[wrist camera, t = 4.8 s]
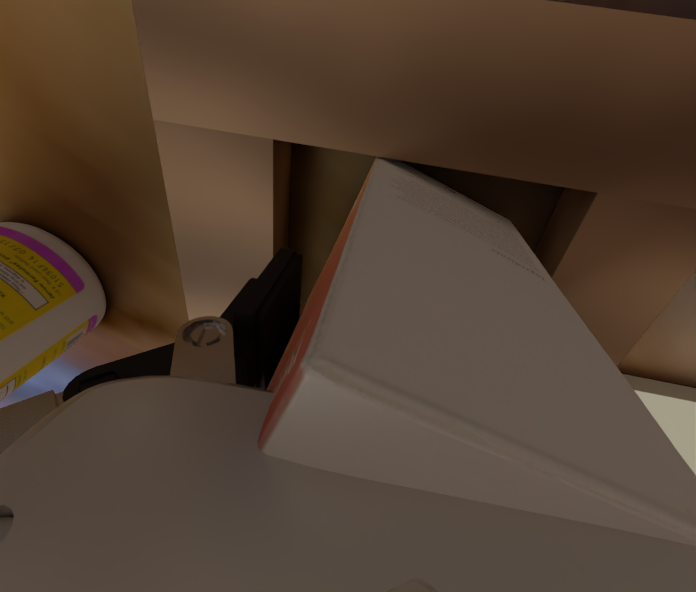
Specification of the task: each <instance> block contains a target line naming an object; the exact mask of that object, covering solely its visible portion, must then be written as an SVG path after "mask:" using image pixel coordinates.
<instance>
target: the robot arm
mask: <svg viewBox="0 0 696 592" xmlns="http://www.w3.org/2000/svg"><path fill="white" fill-rule="evenodd" d="M301 273H302V255H299V254H298V253H297V250H294V249H288V248H282V247H281V248H280V249H279V250H278V252H277V253H276V254H275V256H274V257H273V258H272V260H271V261H270V262H269V264H268V265H267V266H266V268H265V269H264V270H263V272H262V273H261V274H260V276H259V277H258V278H251V279H249V280H248V282H247V283H246V284H245V285H244V287H243V288H242V289H241V291H240V292H239V293H238V294H237V296H236V297H235V298H234V299H233V301H232V302H231V303H230V304H229V306H228V307H227V308H226V310H225V311H224V312H223V313H222V315H221V316H220V317H215V316H204V317H198V318H195V319H192V320H190V321H188V322H186V323H185V324H183V325H182V326H181V327H180V328H179V329H178V331H177V334H176V338H175V343H172V344H169V345H166V346H162V347H159V348H156V349H152V350H149V351H146V352H143V353H139V354H136V355H133V356H130V357H126V358H123V359H120V360H116V361H113V362H110V363H107V364H103V365H100V366H97V367H94V368H92V369H89V370H87V371H85V372H83V373H81V374H80V375H78V376H76V377H75V378H74V379H73V380H72V381H71V382H70V383H69V384H68V385H67V387H66V388H65V390H64V391H63V392H60V393H58V394H55V393H54V391H53V390H51V391H48V392H45V393H42V394H40V395H37V396H34V397H31V398H28V399H26V400H23V401H20V402H17V403H14V404H11V405H9V406H6V407H3V408H0V592H696V546H691V545H687V544H683V543H678V542H674V541H669V540H665V539H660V538H656V537H651V536H647V535H642V534H638V533H633V532H628V531H623V530H619V529H614V528H609V527H604V526H599V525H594V524H589V523H584V522H579V521H575V520H570V519H565V518H560V517H555V516H550V515H545V514H539V513H534V512H529V511H524V510H519V509H514V508H509V507H504V506H499V505H494V504H489V503H484V502H479V501H474V500H469V499H464V498H459V497H454V496H449V495H444V494H439V493H434V492H429V491H424V490H419V489H414V488H409V487H404V486H399V485H393V484H388V483H383V482H378V481H373V480H368V479H363V478H358V477H354V476H349V475H345V474H340V473H336V472H331V471H326V470H322V469H318V468H314V467H310V466H306V465H302V464H298V463H295V462H291V461H288V460H284V459H280V458H277V457H273V456H269V455H266V454H265V453H263V452H261V451H260V450H259V448H258V438H259V435H260V431H261V428H262V425H263V422H264V420H265V417H266V414H267V411H268V409H269V406H270V403H271V400H272V397H273V395H274V392H273V391H271V390H267V388H268V386H269V383H270V381H271V379H272V377H273V375H274V373H275V370H276V368H277V366H278V364H279V362H280V360H281V358H282V355H283V353H284V351H285V349H286V347H287V345H288V342H289V340H290V338H291V336H292V334H293V331H294V329H295V327H296V325H297V323H298V320H299V311H300V292H301Z"/></svg>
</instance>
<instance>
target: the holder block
mask: <svg viewBox="0 0 696 592" xmlns="http://www.w3.org/2000/svg"><path fill="white" fill-rule="evenodd" d="M132 5H133V11H134V16H135V22H136V28H137V33H138V39H139V44H140V50H141V55H142V61H143V67H144V72H145V78H146V83H147V89H148V95H149V100H150V106H151V111H152V117H153V122H154V128H155V134H156V139H157V145H158V150H159V156H160V161H161V167H162V173H163V178H164V184H165V189H166V195H167V201H168V206H169V212H170V217H171V223H172V228H173V234H174V240H175V245H176V251H177V256H178V262H179V267H180V273H181V279H182V284H183V290H184V295H185V301H186V307H187V312H188V318H189V321H190V320H192V319H195V318H198V317H204V316H215V317H220V316H221V315H222V313H223V312H224V311H225V310H226V308H227V307H228V306H229V304H230V303H231V302H232V301H233V299H234V298H235V297H236V296H237V294H238V293H239V292H240V291H241V289H242V288H243V287H244V285H245V284H246V283H247V282H248V280H249V279H251V278H258V277H259V276H260V274H261V273H262V272H263V270H264V269H265V268H266V266H267V265H268V264H269V262H270V261H271V260H272V258H273V257H274V256H275V254H276V253H277V252H278V250H279V249H280V248H281V247H282V248H288V244H289V208H290V173H291V142H292V143H298V144H304V145H310V146H317V147H323V148H329V149H335V150H341V151H347V152H353V153H359V154H365V155H371V156H377V157H383V158H389V159H395V160H402V161H408V162H414V163H420V164H426V165H432V166H438V167H444V168H450V169H456V170H462V171H468V172H474V173H480V174H487V175H493V176H499V177H505V178H511V179H517V180H523V181H529V182H535V183H541V184H547V185H553V186H559V187H565V189H564V191H563V193H562V195H561V197H560V199H559V201H558V203H557V205H556V208H555V210H554V212H553V214H552V216H551V218H550V220H549V222H548V224H547V226H546V228H545V230H544V232H543V234H542V236H541V238H540V241H539V243H538V245H537V247H536V249H535V251H534V254H535V255H536V257H537V258H538V260H539V261H540V263H541V264H542V266H543V267H544V268H545V269H546V271H547V273H548V274H549V276H550V277H551V278H552V280H553V281H554V283H555V284H556V285H557V287H558V288H559V289H560V291H561V292H562V293H563V295H564V296H565V297H566V299H567V300H568V302H569V303H570V304H571V306H572V307H573V308H574V310H575V311H576V312H577V314H578V315H579V316H580V318H581V319H582V320H583V322H584V323H585V325H586V326H587V328H588V329H589V330H590V332H591V333H592V334H593V335H594V337H595V338H596V340H597V341H598V342H599V344H600V345H601V347H602V348H603V349H604V351H605V352H606V353H607V354H608V356H609V357H610V358H611V360H612V361H613V362H614V364H615V365H616V366H618V365H619V363H620V362H621V361H622V360H623V358H624V357H625V356H626V355H627V354H628V352H629V351H630V350H631V349H632V347H633V346H634V345H635V344H636V342H637V341H638V340H639V339H640V338H641V336H642V335H643V334H644V333H645V331H646V330H647V329H648V328H649V326H650V325H651V324H652V323H653V322H654V320H655V319H656V318H657V317H658V315H659V314H660V313H661V312H662V310H663V309H664V308H665V307H666V305H667V304H668V303H669V302H670V301H671V299H672V298H673V297H674V296H675V294H676V293H677V292H678V291H679V289H680V288H681V287H682V286H683V285H684V283H685V282H686V281H687V280H688V278H689V277H690V276H691V275H692V273H693V272H694V271H695V270H696V20H692V19H685V18H677V17H670V16H662V15H655V14H647V13H640V12H632V11H625V10H617V9H609V8H602V7H594V6H587V5H579V4H572V3H564V2H557V1H549V0H132Z"/></svg>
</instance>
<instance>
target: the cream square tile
mask: <svg viewBox="0 0 696 592" xmlns="http://www.w3.org/2000/svg"><path fill="white" fill-rule="evenodd" d="M623 376H624V377H625V379H626V380H627V381H628V383H629V384H630V385H631V387H632V388H633V389H634V391H635V392H636V393H637V395H638V396H639V397H640V399H641V400H642V402H643V403H644V405H645V406H646V408H647V409H648V410H649V412H650V413H651V415H652V416H653V417H654V419H655V420H656V421H657V423H658V424H659V426H660V427H661V428H662V430H663V431H664V432H665V434H666V435H667V437H668V438H669V440H670V441H671V442H672V444H673V445H674V447H675V448H676V450H677V451H678V452H679V454H680V455H681V456H682V458H683V459H684V460H685V462H686V463H687V464H688V466H689V467H690V468H691V469H692V471H693V472H694V473H695V475H696V388H692V387H687V386H682V385H677V384H672V383H667V382H662V381H657V380H651V379H646V378H641V377H636V376H631V375H626V374H623Z"/></svg>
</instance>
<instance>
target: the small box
mask: <svg viewBox="0 0 696 592" xmlns="http://www.w3.org/2000/svg"><path fill="white" fill-rule="evenodd" d="M267 390H271V391H273V392H274V395H273V397H272V400H271V403H270V406H269V409H268V411H267V414H266V417H265V420H264V422H263V425H262V428H261V431H260V435H259V438H258V448H259V450H260V451H261V452H263V453H265V454H266V455H269V456H273V457H277V458H280V459H284V460H288V461H291V462H295V463H298V464H302V465H306V466H310V467H314V468H318V469H322V470H326V471H331V472H336V473H340V474H345V475H349V476H354V477H358V478H363V479H368V480H373V481H378V482H383V483H388V484H393V485H399V486H404V487H409V488H414V489H419V490H424V491H429V492H434V493H439V494H444V495H449V496H454V497H459V498H464V499H469V500H474V501H479V502H484V503H489V504H494V505H499V506H504V507H509V508H514V509H519V510H524V511H529V512H534V513H539V514H545V515H550V516H555V517H560V518H565V519H570V520H575V521H579V522H584V523H589V524H594V525H599V526H604V527H609V528H614V529H619V530H623V531H628V532H633V533H638V534H642V535H647V536H651V537H656V538H660V539H665V540H669V541H674V542H678V543H683V544H687V545H691V546H696V475H695V473H694V472H693V471H692V469H691V468H690V467H689V466H688V464H687V463H686V462H685V460H684V459H683V458H682V456H681V455H680V454H679V452H678V451H677V450H676V448H675V447H674V445H673V444H672V442H671V441H670V440H669V438H668V437H667V435H666V434H665V432H664V431H663V430H662V428H661V427H660V426H659V424H658V423H657V421H656V420H655V419H654V417H653V416H652V415H651V413H650V412H649V410H648V409H647V408H646V406H645V405H644V403H643V402H642V400H641V399H640V397H639V396H638V395H637V393H636V392H635V391H634V389H633V388H632V387H631V385H630V384H629V383H628V381H627V380H626V379H625V377H624V376H623V374H622V373H621V372H620V370H619V369H618V368H617V366H616V365H615V364H614V362H613V361H612V360H611V358H610V357H609V356H608V354H607V353H606V352H605V351H604V349H603V348H602V347H601V345H600V344H599V342H598V341H597V340H596V338H595V337H594V335H593V334H592V333H591V332H590V330H589V329H588V328H587V326H586V325H585V323H584V322H583V320H582V319H581V318H580V316H579V315H578V314H577V312H576V311H575V310H574V308H573V307H572V306H571V304H570V303H569V302H568V300H567V299H566V297H565V296H564V295H563V293H562V292H561V291H560V289H559V288H558V287H557V285H556V284H555V283H554V281H553V280H552V278H551V277H550V276H549V274H548V273H547V271H546V269H545V268H544V267H543V266H542V264H541V263H540V261H539V260H538V258H537V257H536V255H535V254H534V253H533V252H532V250H531V249H530V247H529V246H528V245H527V243H526V242H525V240H524V239H523V237H522V236H521V235H520V233H519V232H518V231H517V229H516V227H515V226H514V225H513V223H512V222H511V221H510V220H509V219H507V218H505V217H503V216H501V215H499V214H497V213H495V212H493V211H492V210H490V209H488V208H486V207H484V206H483V205H481V204H479V203H477V202H475V201H473V200H471V199H470V198H468V197H466V196H464V195H462V194H460V193H458V192H457V191H455V190H453V189H451V188H449V187H448V186H446V185H444V184H442V183H440V182H438V181H437V180H435V179H433V178H431V177H429V176H427V175H426V174H424V173H422V172H420V171H418V170H416V169H414V168H413V167H411V166H409V165H407V164H405V163H403V162H401V161H399V160H395V159H389V158H383V157H377V156H376V158H375V160H374V162H373V165H372V167H371V169H370V171H369V173H368V175H367V178H366V180H365V182H364V184H363V186H362V188H361V190H360V192H359V195H358V197H357V199H356V201H355V203H354V205H353V207H352V209H351V211H350V213H349V216H348V218H347V220H346V222H345V224H344V226H343V228H342V230H341V232H340V235H339V237H338V239H337V241H336V243H335V245H334V247H333V249H332V251H331V253H330V255H329V257H328V259H327V261H326V263H325V265H324V267H323V269H322V272H321V274H320V276H319V278H318V280H317V282H316V284H315V286H314V288H313V290H312V292H311V294H310V296H309V298H308V300H307V302H306V304H305V307H304V309H303V312H302V314H301V316H300V318H299V321H298V323H297V325H296V327H295V329H294V331H293V334H292V336H291V338H290V340H289V342H288V345H287V347H286V349H285V351H284V353H283V355H282V358H281V360H280V362H279V364H278V366H277V368H276V370H275V373H274V375H273V377H272V379H271V381H270V383H269V386H268V388H267Z"/></svg>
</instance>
